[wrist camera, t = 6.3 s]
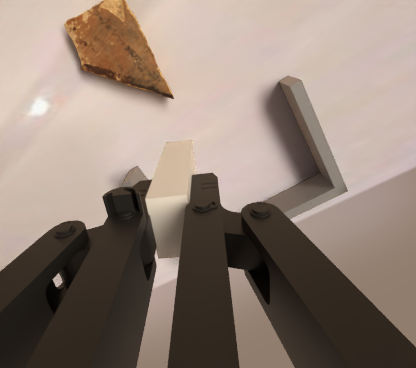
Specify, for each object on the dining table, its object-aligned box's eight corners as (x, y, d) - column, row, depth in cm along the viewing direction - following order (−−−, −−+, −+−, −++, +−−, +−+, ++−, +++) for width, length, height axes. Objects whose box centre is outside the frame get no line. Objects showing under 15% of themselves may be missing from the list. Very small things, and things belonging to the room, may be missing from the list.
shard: (175, 96, 32) (173, 99, 30) (117, 123, 33) (113, 127, 32) (126, -8, 28) (121, -11, 26) (62, 28, 29) (53, 26, 27)
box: (129, 170, 36) (121, 185, 32) (288, 75, 32) (301, 80, 28) (189, 246, 42) (188, 267, 38) (332, 175, 37) (347, 191, 33)
